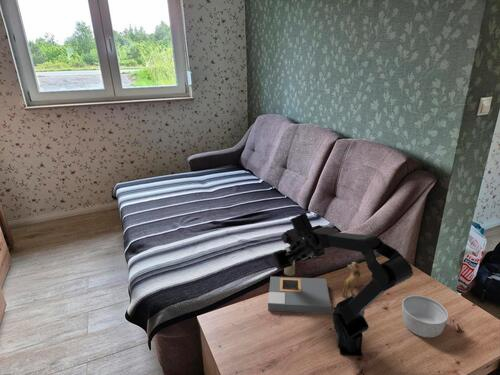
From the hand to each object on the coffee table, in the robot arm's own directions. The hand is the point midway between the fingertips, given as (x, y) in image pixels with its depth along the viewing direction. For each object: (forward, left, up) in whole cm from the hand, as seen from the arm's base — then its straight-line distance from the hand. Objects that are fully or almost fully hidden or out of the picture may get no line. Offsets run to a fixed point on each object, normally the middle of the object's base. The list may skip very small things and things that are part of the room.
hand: (287, 260), depth 116 cm
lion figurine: (-25, -3, -14) cm, 28 cm away
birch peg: (-1, +1, -5) cm, 5 cm away
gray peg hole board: (-4, +4, -14) cm, 15 cm away
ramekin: (-44, +15, -14) cm, 49 cm away
